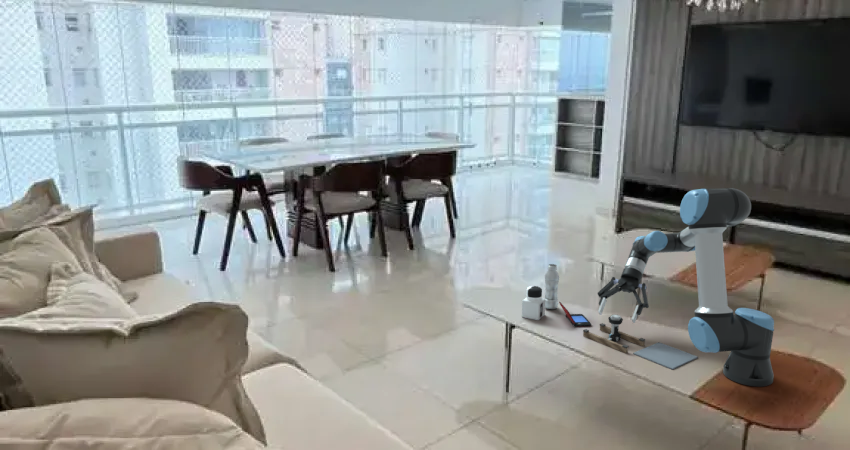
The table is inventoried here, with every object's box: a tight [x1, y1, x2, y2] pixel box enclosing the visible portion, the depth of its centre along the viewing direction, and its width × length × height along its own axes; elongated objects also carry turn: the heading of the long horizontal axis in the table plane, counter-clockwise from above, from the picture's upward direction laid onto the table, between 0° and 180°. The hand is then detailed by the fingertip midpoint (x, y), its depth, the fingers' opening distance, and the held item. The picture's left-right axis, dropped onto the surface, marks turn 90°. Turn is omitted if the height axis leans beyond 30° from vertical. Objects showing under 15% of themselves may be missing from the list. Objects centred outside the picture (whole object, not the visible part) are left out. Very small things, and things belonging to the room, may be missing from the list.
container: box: [521, 285, 546, 321], centre depth 261 cm, size 8×8×13 cm
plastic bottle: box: [544, 263, 560, 310], centre depth 269 cm, size 6×7×20 cm
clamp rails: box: [582, 322, 646, 354], centre depth 237 cm, size 20×12×3 cm, turn 36°
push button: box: [607, 314, 624, 342], centre depth 236 cm, size 7×5×10 cm
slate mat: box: [632, 341, 699, 370], centre depth 223 cm, size 16×16×1 cm
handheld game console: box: [558, 301, 592, 328], centre depth 256 cm, size 12×11×7 cm
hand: (616, 317), depth 238 cm, fingers open, 13 cm apart
